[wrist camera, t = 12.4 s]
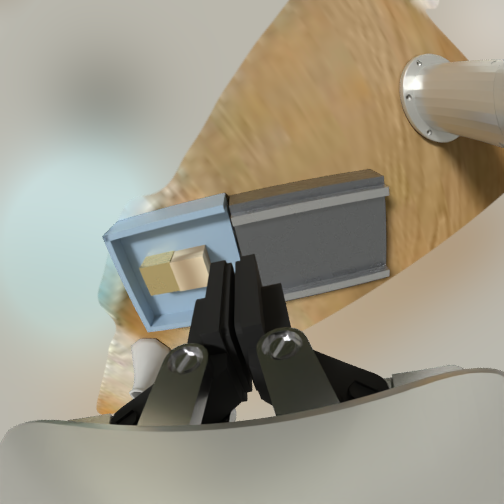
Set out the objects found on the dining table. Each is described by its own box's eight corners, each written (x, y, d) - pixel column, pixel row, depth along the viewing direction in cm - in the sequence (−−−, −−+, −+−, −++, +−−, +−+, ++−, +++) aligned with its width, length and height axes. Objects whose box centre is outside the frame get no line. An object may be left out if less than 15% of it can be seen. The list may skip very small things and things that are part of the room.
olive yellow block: (174, 250, 35) (169, 262, 33) (184, 277, 37) (180, 290, 35) (145, 256, 36) (139, 268, 33) (156, 282, 37) (151, 295, 35)
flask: (179, 360, 48) (171, 406, 39) (148, 368, 49) (136, 411, 40) (156, 332, 45) (143, 378, 36) (124, 342, 46) (108, 386, 37)
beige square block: (205, 244, 35) (202, 256, 33) (213, 272, 37) (212, 285, 34) (174, 251, 35) (169, 263, 33) (184, 278, 37) (180, 291, 35)
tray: (225, 192, 35) (222, 204, 31) (251, 293, 42) (252, 315, 37) (116, 221, 36) (102, 236, 31) (155, 310, 43) (148, 332, 38)
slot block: (369, 168, 34) (388, 178, 29) (374, 263, 40) (389, 282, 36) (230, 195, 35) (228, 209, 30) (254, 290, 41) (256, 313, 37)
